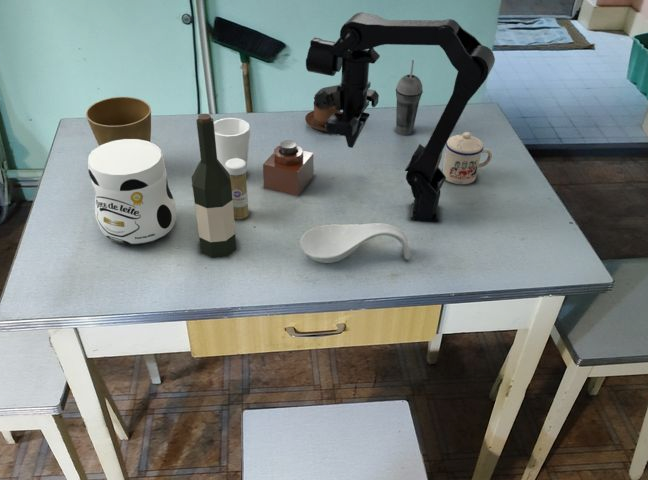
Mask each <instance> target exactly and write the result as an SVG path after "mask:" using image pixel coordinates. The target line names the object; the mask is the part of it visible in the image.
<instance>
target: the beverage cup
mask: <svg viewBox="0 0 648 480" xmlns="http://www.w3.org/2000/svg"><path fill="white" fill-rule="evenodd" d="M414 64H415V60H414V59H412V60H411V63H410V65H411V66H410V73H409V74H406V75H404V76H402V77H401V78H400V79H399V80H398V82H397V85H396V88H395V96H396V97H395V98H396V112H395V113H396V114H395V115H396V118H395V119H396V120H395V128H396V133H397V134H399V135H402V136H408V135H411V134H412V133H413V131H414V127H415V122H416V117H417V113H418V109H419V104H420V101H421V98H422V94H423V93H424V91H423V83H422V81H421V79H420V78H419V77H418V76H416V75H415V74H413V71H414Z"/></svg>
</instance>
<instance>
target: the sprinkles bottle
mask: <svg viewBox="0 0 648 480" xmlns="http://www.w3.org/2000/svg"><path fill="white" fill-rule="evenodd" d="M225 168H226V170H227V171H228V173H229V174H230V179H231V188H232V199H233V211H234V220H244V219H247V218H248V217H249V215H250V211H249V197H248V196H249V195H248V183H247V172H246V162H245V161H244V160H242V159H238V158H234V159H230V160H228V161H227V162H226V163H225Z"/></svg>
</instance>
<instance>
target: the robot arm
mask: <svg viewBox="0 0 648 480" xmlns="http://www.w3.org/2000/svg"><path fill="white" fill-rule="evenodd" d="M309 43H310V46H309V48H308V50H307V55H306V59H305V68H306V71H307V72H308V73H315V74H318V75H319V74H320V75H325V76H331V77H334V76H335V75H336V73H340V71H341V77H340V79H341V81H340V83H339V84H336V85H330V86H325V87H322V88H320V89H319V90H318V91H317V92H316V93H315V94H314V97H313V100H314V101H313V106H314V105H316V107H317V108H319V110H322V109H324V108H328V107H333V106H335V110H340V111H341V112H342V113H341V114H339V113H334V114H333V115H332V116H331V117H330V118H329V119H328V120H327V121H326V122H325V131H324V132H326V133H327V134H328V133H329V134H334V135H338V136H342V137H343V136H344V137H345V140H346V144H347V147H348V148H351V149H353V148H354V146H355V144H356V142H357V140H358V138H359V137H360V135H361V133H362V131H363V129H364V127H365V126H366V123H367V121H368V119H369V118H370V117H371V115H370V113H368V112H365V111H366V110H367V108H368V107H369V106H371V107H372V108H375V107H376V106H377V105H378V104H379V100H380V99H379V98H380V96H379V93H378V92H377V90H375V89H370V88H371V81H369V71H370V64H373V65H374V64H376V62H377V61H378V60H379V59H380V57H381V56H380V55H381V54H379V53H378V52H377V51H376V50H375V48H377V47H379V46H384V45H393V46H394V45H397V46H400V45H401V46H439V47H440V48H441V49H442V50H443V52H444V53H445V55H446V57H447V59H448V60H449V62H450V63H451V65H452V66H453V68H454V69H455V70H456V71H457V74H456V77H455V81H454V86H453V90H452V93H451V96H450V98H449V100H448V102H447V104H446V105H445V108H444V109H443V112H442V114H441V116H440V118H439V120H438V122H437V123H436V126H435V127H434V129H433V132H432V133H431V136H430V138H429V140H428V142H427V144H426V145H425V146H423V145H422V144H421V143H419V144H418V145H417V147H416V148H415V150H414V152H413V154H412V155H411V158H410V161H409V162H408V165H407V166H406V167H405V169H404V172H406V175H405V180H406V181H407V184H408V185H409V186H410V189H411V193H412V197H413V198H414V199H413V203H411V204H410V220H412V221H419V222H420V221H421V222H432V223H438V222H439V221H440V205H439V204H440V197H441V193H442V192H441V191H442V190H441V188H442V187H443V185H444V183H445V181H446V176H445V175H444V174H443V170H441V168H440V163H441V160H442V156H443V151H444V148H445V146H446V143H447V141H448V139H449V138H450V137H451V135H452V133H453V131H454V129H456V128H455V127H456V125H457V124H458V121H459V120H460V118H461V116H462V114H463V113H464V111H465V108H466V106H467V105H468V103H469V101H470V100H471V99H472V98H473V96H474V95H475V94H476V93H477V91H478V90H479V89H480V88H481V87H482V85H483V84H484V83H485V81H486V80H487V79H488V76H489V75H490V73H491V71H492V69H493V68H494V65H495V62H496V58H495V54H494V52H493V51H492V49H491V48H489V47H488V46H486V45H483V44H482V43H481V42H480V41H479V40H478V39H477V37H475V36H474V35H472V34H471V33H470V32H468V31H467V30H465V29H464V28H463V27H462V26H461V25H460V24H459V23H458V21H456V20H455V19H451V18H448V19H447V18H446V19H439V20H438V19H437V20H436V19H435V20H434V19H433V20H432V19H431V20H428V19H426V20H425V19H416V20H415V19H386V18H383V17H381V16H379V15H377V14H373V13H367V12H356V13H355V14H353V15H352V16H351V17H350V18H349V19H348V20H346V22H345V23H344V24H343V25H342V26H341V29H340V32H339V37H338V39H336V40H335V41H331V40H325V39H322V38H320V37H312V39H311V40H310V42H309ZM370 102H371V105H370Z"/></svg>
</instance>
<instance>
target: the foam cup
mask: <svg viewBox="0 0 648 480" xmlns="http://www.w3.org/2000/svg"><path fill="white" fill-rule="evenodd" d="M250 126H251V124H249V123H248V121H247V120H244V119H242V118H237V117H224V118H220V119H217V120H215V121H214V131H215V142H216V152H217V159H218V160H219V162H220V163H221V164H222V165H223V167H224V168H225V163H226V162H227V161H228V160H230V159H234V158H238V159H242V160H244V161H245V162H246V173H247V172H248V171H247V170H248V158H249V145H250V138H251V127H250ZM225 169H226V168H225Z"/></svg>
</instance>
